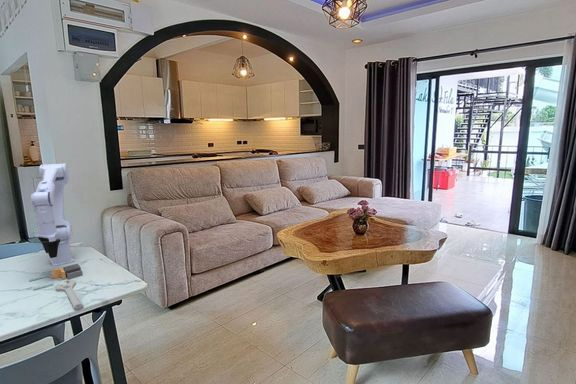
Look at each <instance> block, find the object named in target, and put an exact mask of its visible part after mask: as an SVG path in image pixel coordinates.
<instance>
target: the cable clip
mask: <svg viewBox="0 0 576 384" xmlns="http://www.w3.org/2000/svg"><path fill="white" fill-rule="evenodd" d="M62 268H63V267H62ZM63 270H64V268H63ZM79 277H83V270H82V269H81V270H79V271H75V272H72V273H68V274H67V278H66V279H67V280H73V279H76V278H79Z"/></svg>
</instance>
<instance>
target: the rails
mask: <svg viewBox="0 0 576 384" xmlns="http://www.w3.org/2000/svg"><path fill="white" fill-rule="evenodd" d="M46 278H49V275H48V274H47V275H46V274H45V275H43V276H38V277H35V278H32V279H31V278H30V279H29V280H28V281H29V283H31V282H35V281H38V280H42V279H46ZM53 286H54V282H53V283H49V284H46V285H42V286H38V287H34V288H33V289H32V290H33V291H35V292H36V291H38V290H42V289H45V288H48V287H53Z"/></svg>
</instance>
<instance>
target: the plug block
mask: <svg viewBox="0 0 576 384" xmlns="http://www.w3.org/2000/svg"><path fill="white" fill-rule="evenodd" d="M62 268H64V271H65V275H66V279H67V274H68V273H72V272H75V271H79V270H82V268H81V266H80V265H79V263H75V264H70V265H66V266H62Z"/></svg>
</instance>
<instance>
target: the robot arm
mask: <svg viewBox="0 0 576 384" xmlns="http://www.w3.org/2000/svg"><path fill="white" fill-rule="evenodd" d="M38 171H39V175H40V177H41V179H42V180H41V181H39V182H38V184H37V187H36V190H35V192H33V193H31V195H30V203H31V206H32V208H33V212H34V213H35V217H36V223H37V229H38V233H36V234H35V235H34V236H35V237H36V238H37V239H38V240H39V241H40V243H41V244H42V247H43V250H44V252H45V254H48V256H49V258H50V259H49V260H48V261H49V262H50V264H51V265H52V266H53V267H58V266H60V265H61V266H62V265H64V264H69V263H73V262H75V261H76V260H75V259H74V258H73V257H72V250H71V245H70V244H71V243H70V241H71V240H73V228H72V227H73V225H72V224H71V223H70V221H67V220H65V210H64V209H65V206H64V205H65V204H64V202H65V201H64V199H65V198H64V197H65V196H64V195H65V194H64V190H65V185H67V184H68V183H69V180H70V179H69V178H70V177H69V167H68V165H67V164H66V163H65V162H63V163H53V164H52V163H51V164H49V163H48V164H43V163H41V164H40V165H39V169H38Z"/></svg>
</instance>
